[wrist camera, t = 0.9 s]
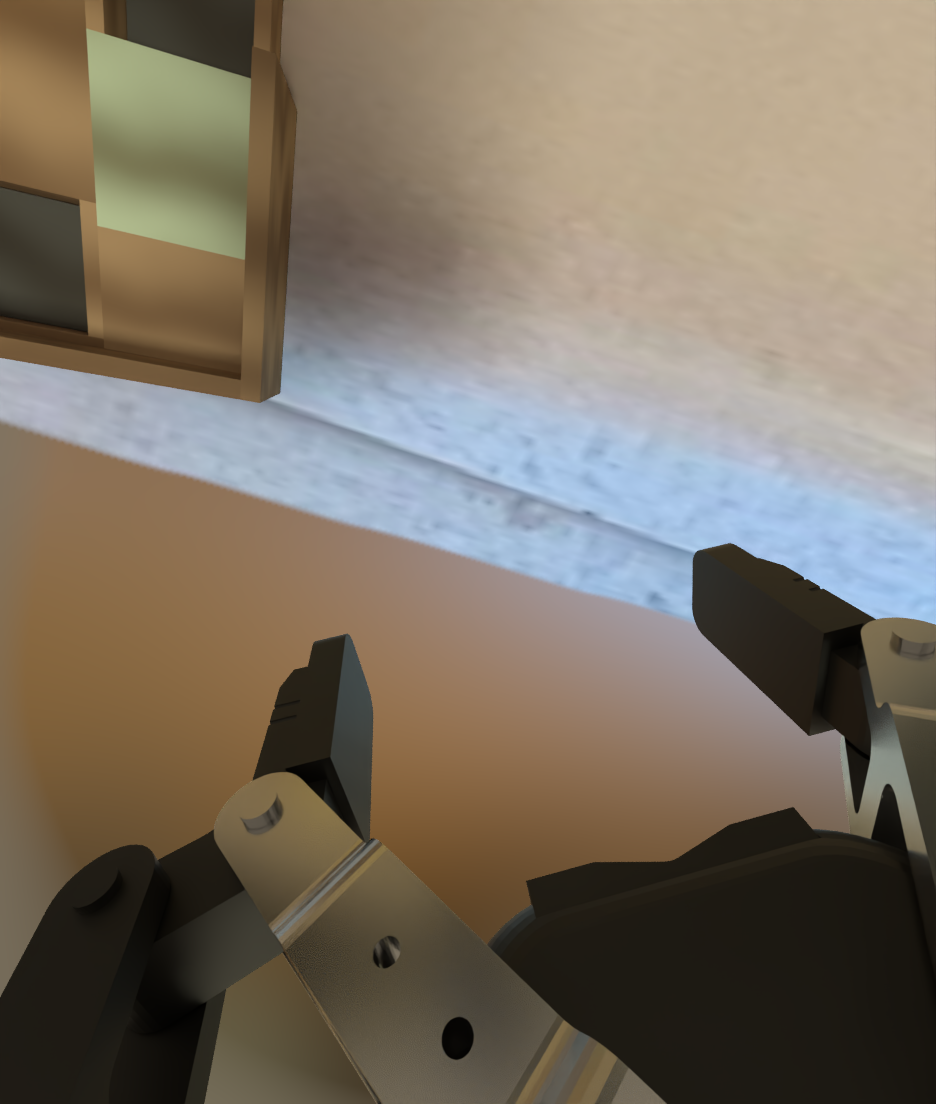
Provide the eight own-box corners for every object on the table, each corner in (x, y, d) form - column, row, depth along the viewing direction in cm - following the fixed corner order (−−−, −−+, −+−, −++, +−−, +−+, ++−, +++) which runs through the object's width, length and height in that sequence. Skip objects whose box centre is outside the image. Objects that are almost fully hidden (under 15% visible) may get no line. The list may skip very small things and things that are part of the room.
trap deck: (-113, -249, 21) (-286, -458, 16) (308, -87, 25) (288, -210, 19) (-30, 337, 29) (-125, 335, 24) (280, 393, 33) (259, 403, 27)
